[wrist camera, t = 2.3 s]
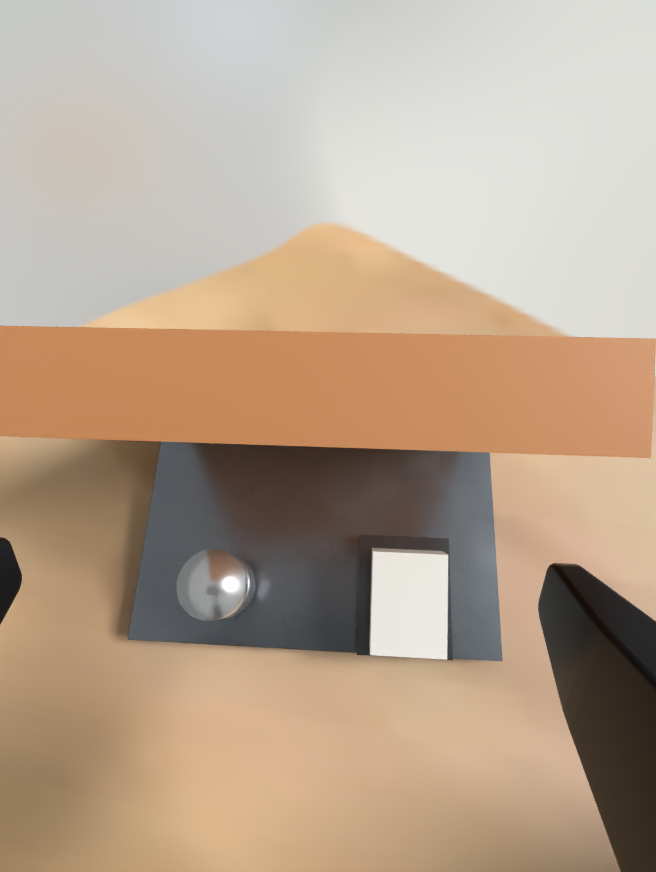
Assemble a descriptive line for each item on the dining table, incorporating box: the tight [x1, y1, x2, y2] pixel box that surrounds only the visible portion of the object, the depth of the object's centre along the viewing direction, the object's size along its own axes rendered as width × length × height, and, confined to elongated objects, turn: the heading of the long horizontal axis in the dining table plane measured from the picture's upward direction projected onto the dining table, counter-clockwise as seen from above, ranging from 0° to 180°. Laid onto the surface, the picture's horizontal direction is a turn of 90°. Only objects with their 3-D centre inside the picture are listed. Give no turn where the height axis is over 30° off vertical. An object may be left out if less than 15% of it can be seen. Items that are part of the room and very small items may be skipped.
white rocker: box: [369, 548, 448, 660], centre depth 16 cm, size 3×2×1 cm
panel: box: [128, 442, 502, 661], centre depth 18 cm, size 11×13×3 cm
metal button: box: [176, 549, 256, 621], centre depth 16 cm, size 2×2×2 cm
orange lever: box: [0, 326, 656, 458], centre depth 13 cm, size 2×12×11 cm, turn 87°
